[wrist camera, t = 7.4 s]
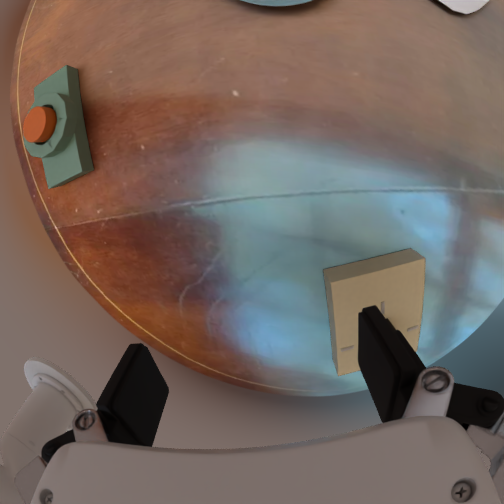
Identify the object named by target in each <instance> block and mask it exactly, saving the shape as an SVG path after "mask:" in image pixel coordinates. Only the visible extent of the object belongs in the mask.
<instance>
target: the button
mask: <svg viewBox="0 0 504 504" xmlns="http://www.w3.org/2000/svg"><path fill="white" fill-rule="evenodd" d="M56 124H57V116H56V113H55V111H54V110H53V109H52V108H49V107H41V106H37V107H34V108H33V109H31V110H30V111H29V113H28V114H27V116H26V118H25V121H24V125H23V134H24V137H25V139H26V140H27V141H28V142H31V143H33V142H45V141H47V140H48V139H49V138H50V137H51V136H52V135H53V133H54V131H55V128H56Z"/></svg>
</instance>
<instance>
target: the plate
mask: <svg viewBox="0 0 504 504" xmlns="http://www.w3.org/2000/svg"><path fill="white" fill-rule="evenodd" d="M438 1H439V2H441V3H442V4H444V5H445V6H446V7H448V8H449V9H450V10H452V11H455V12H459V13H463V14H469V13H472V12H475V11H477V10H478V9H480V8H481V7H483V6H484V5H485V4H486V3H487V2H489V0H438Z"/></svg>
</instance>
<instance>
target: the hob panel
mask: <svg viewBox="0 0 504 504" xmlns="http://www.w3.org/2000/svg"><path fill="white" fill-rule="evenodd" d="M323 272H324V280H325V288H326V296H327V304H328V313H329V323H330V333H331V345H332V357H333V362H334V365H335V368H336V371H337V374H338V376H341V375H345V374H349V373H352V372H356V371H359V370H360V367H359V364H358V313H359V312H362V309H363V308H365V307H369V306H373V305H376V306H377V307H378V309H379V310H380V312H381V313H382V314H383V316H384V317H385V319H386V318H388V319H389V320H390V322H391V323H392V325H393V326H394V327H395V329H396V330H400V331H401V333H402V334H403V335H404V337H405V338H406V340H407V341H408V342H409V344H410V345H411V347H412V348H413V350H414V351H415V352H416V351H417V347H418V341H419V334H420V326H421V318H422V309H423V298H424V283H425V257H423V256H422V255H420V254H419V253H417V252H416V251H414V250H413V249H411V248H410V249H406V250H402V251H398V252H394V253H390V254H386V255H382V256H378V257H374V258H370V259H366V260H362V261H358V262H353V263H349V264H345V265H341V266H336V267H332V268H328V269H323Z"/></svg>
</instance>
